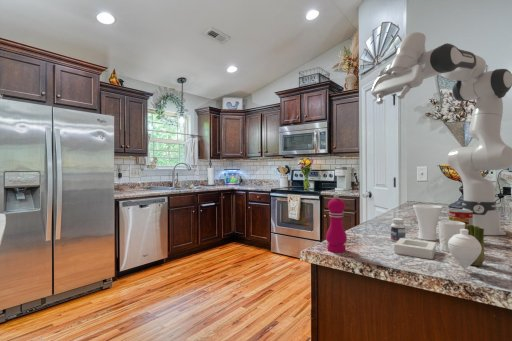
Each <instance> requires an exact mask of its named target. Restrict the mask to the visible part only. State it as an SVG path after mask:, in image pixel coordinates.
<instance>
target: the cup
mask: <svg viewBox="0 0 512 341" xmlns="http://www.w3.org/2000/svg"><path fill="white" fill-rule="evenodd" d="M412 207H413V209H414V212H415V216H416V219H417V225H418V237H417V238H418V239H420V240H422V241H437V225H438V221H439V217H440V215H441V212H442V210H443V206H442V205H436V204H423V203H422V204H413V205H412Z"/></svg>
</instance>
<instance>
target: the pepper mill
mask: <svg viewBox="0 0 512 341" xmlns="http://www.w3.org/2000/svg"><path fill="white" fill-rule="evenodd" d="M339 197H340V195H339V194H337V193H336V194H334V195H333V198H331V199H330V200H329V201H328V203H327V209H328V210H329V212H328V214H329V215H328V216H329V218H330V225H329V227H328V229H327V231H326V233H325V234H326V235H325V239H326V241H327V242H328V243H327V245H326V246H327V250H328V252H330V253H336V254H337V253H344V252H346V245H345V243H347V240H348V239H347V238H348V236H347V233H346V231H345V228H344V227H343V217H344V210H345V209H346V203H345V201H343V200H342V199H340V198H339Z"/></svg>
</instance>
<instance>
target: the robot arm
mask: <svg viewBox="0 0 512 341" xmlns="http://www.w3.org/2000/svg"><path fill="white" fill-rule="evenodd" d="M426 39H427V37H426V35H425V34H424V33H422V32H416V31H415V32H411V33H409V34H406V35H404V37H403V39H401V42H400V44H399V46H398V47H397V49H396V52H395V57H393V59H392V61H391V63H389V64H388V65H387V66H386V67H384V68H383V69H382V70H380V71H378V74H377V76H378V77H377V78H376V80H375V81H374V83H373V85H372V88H371V91H370V93H371V95H372V96H373V97H374V98H376V99H377V100H376V104H377V105H382V104H383V102H384V101H385V100H384V99H383V98H384V97H386V96H389V95H390V96H391V95H392V94H396V93H397V98H398V99H399V100H402V99H405V96H406V95H407V94H408V93H409V92H410V91H411V89H414V88H417V87H420V85H422V83H423V82H424V80H426V79H429V78H432V77H435V76H439V75H441V74H443V76H444V77H445V79H448V80H450V81H453V82H454V84H453V87H452V89H451V90H452V95H453V97H454V99H455V100H456V101H458V102H467V101H473V100H476V102H475V105H474V106H473V109H472V110H473V111H472V112H471V117H470V122H469V129H468V133H469V135H470V136H471V137H472V138H473V139H474V140H478V141H479V144H478V145H476V146H460V147H457V148H454V149H451V150H450V151H449V152H448V154H447V157H446V161H447V164H448V166H449V167H450V168H452V169H453V170H454V171H456V173H457V175H458V176H459V177H460V178H459V179H461V183H462V190H463V191H462V192H463V193H462V194H463V199H462V203H461V207H462V209H461V210H470V211H473V225H474V226H478V227H479V228H483V229H484V236H506V235H507V233H506V231H504V230H502V229H501V215H500V214H499V213H497V211H496V210H497V204H496V203H497V202H496V201H495V184H494V183H493V182H492V180H489V179H487V178H485V177H484V176H483V175H482V172H481V171H501V170H506V169H510V168H511V167H512V147H511V146H509V145H508V144H506V143H505V142H504V141H503V139H502V135H501V126H502V119H503V114H504V112H503V110H504V109H503V108H504V107H503V104H504V103H503V98H504V97H505V96H506V95H507V93H508V92H509V91H510V90H511V88H512V72H511V71H510V70H509V69H507V68H496V69H494V70H490V71H488V70H487V71H486V69H487V64H486V61H485V59H484V58H483V57H481V56H480V55H476V54H475V53H473V52H472V51H467V50H463V49H461V48H458V47H457V46H455V45H454V44H452V43H444V44H442V45H439V46H437V47H436V48H433V49H431V50H428V51H427V50H426Z"/></svg>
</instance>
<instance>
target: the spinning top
mask: <svg viewBox="0 0 512 341" xmlns="http://www.w3.org/2000/svg"><path fill="white" fill-rule="evenodd" d="M468 231H469V230H467V229H460V233H461V234H456V235H453V237H451V238H450V239H449V241H448V248H449V250H450V252H449V253H450V254H451V255H452V257H453V258H454V260H455V261H456V262H457V263H458V265H459V266H460V267H461V268H462V270H463V273H465V272H466V269H467V268H468V267H471V266H472V265H471V264H472V263H473V262H474V261H475V260H476V259H477V258H478V256H479V255H480V253H481V249H482V248H481V244H480V243H479V241H478V240H477V239H476V238H475V237H473V236H471V235H468Z"/></svg>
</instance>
